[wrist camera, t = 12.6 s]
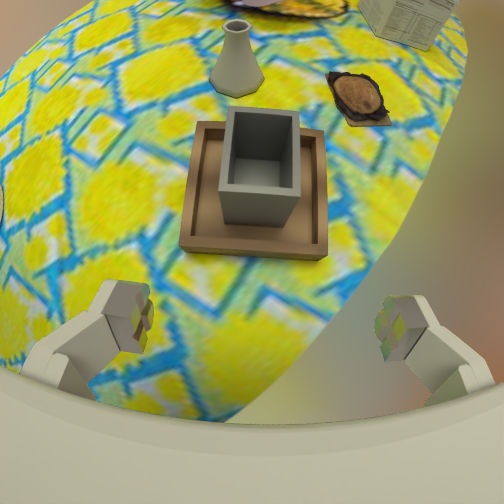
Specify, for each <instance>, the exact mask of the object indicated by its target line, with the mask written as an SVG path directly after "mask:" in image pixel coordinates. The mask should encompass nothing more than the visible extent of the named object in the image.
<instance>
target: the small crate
mask: <svg viewBox="0 0 504 504" xmlns="http://www.w3.org/2000/svg"><path fill="white" fill-rule="evenodd" d="M218 192H219V198H220V203H221V208H222V214H223V219H224V224H228V225H244V226H259V227H274V228H283V227H284V226H285V224H286V222H287V220H288V218H289V217H290V215H291V213H292V211H293V209H294V208H295V206H296V204H297V202H298V200H299V199H300V197H301V175H300V122H299V112H297V111H288V110H279V109H268V108H255V107H237V106H228V113H227V120H226V128H225V136H224V144H223V153H222V161H221V170H220V179H219V188H218Z"/></svg>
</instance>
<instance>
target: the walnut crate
mask: <svg viewBox="0 0 504 504" xmlns="http://www.w3.org/2000/svg"><path fill="white" fill-rule="evenodd" d="M225 128H226V122H222V121H197V125H196V131H195V136H194V142H193V147H192V153H191V159H190V165H189V171H188V178H187V185H186V191H185V199H184V206H183V214H182V222H181V230H180V239H179V246H180V247H181V248H182V249H183V250H184V251H185V252H189V253H204V254H219V255H234V256H250V257H265V258H281V259H297V260H313V261H319V260H321V259H322V258H324V257H326V256H328V202H327V173H326V153H325V138H324V131H322V130H315V129H307V128H300V175H301V197H300V199H299V200H298V202H297V204H296V206H295V208H294V209H293V211H292V213H291V215H290V217H289V218H288V220H287V222H286V224H285V226H284V227H283V228H274V227H259V226H244V225H228V224H224V219H223V214H222V208H221V203H220V198H219V192H218V188H219V179H220V170H221V161H222V153H223V144H224V136H225Z"/></svg>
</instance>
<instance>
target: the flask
mask: <svg viewBox="0 0 504 504" xmlns="http://www.w3.org/2000/svg"><path fill="white" fill-rule="evenodd" d="M251 28H252V25H251V24H250V23H249V22H248V21H245V20H241V19H234V20H230V21H227V22H226V23H225V24H223V25H222V29H223V30H224V31H225V40H224V45H223V49H222V51H221V53H220V56H219V58H218V60H217V63H216V65H215V67H214V69H213V71H212V73H211V75H210V78H209V80H210V82H211V83H212V85H213V86H214V88H215V89H216V90H217V92H220V93H223V94H226V95H229V96H232V97H235V98H238V97H241V96H243V95H246V94H249V93H252V92H255V91H257V89H258V88H259V86H260V85H261V83H262V82H263V81H264V79H265V78H264V76H263V74H262V71H261V69H260V67H259V65H258V63H257V61H256V58H255V56H254V54H253V52H252V49H251V45H250V41H249V30H250V29H251Z"/></svg>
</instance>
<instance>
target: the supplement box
mask: <svg viewBox="0 0 504 504" xmlns="http://www.w3.org/2000/svg"><path fill="white" fill-rule="evenodd" d="M459 2H460V0H360V1H359V3H358V8H359V9H360V11H361V12H362V14H363V16H364V17H365V19H366V20H367V22H368V24H369V25H370V27H371V29H372V30H373V32H374V34H375V36H377V37H381V38H385V39H389V40H392V41H396V42H399V43H402V44H405V45H409V46H412V47H415V48H418V49H420V50H423V51H427V50H428V48H429V47H430V45H431V44H432V42H433V41H434V39H435V38H436V36H437V35H438V33H439V32H440V30H441V29H442V27H443V26H444V24H445V23H446V21H447V20H448V18H449V17H450V15H451V14H452V12H453V11H454V9H455V7H456V6H457V4H458V3H459Z"/></svg>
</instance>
